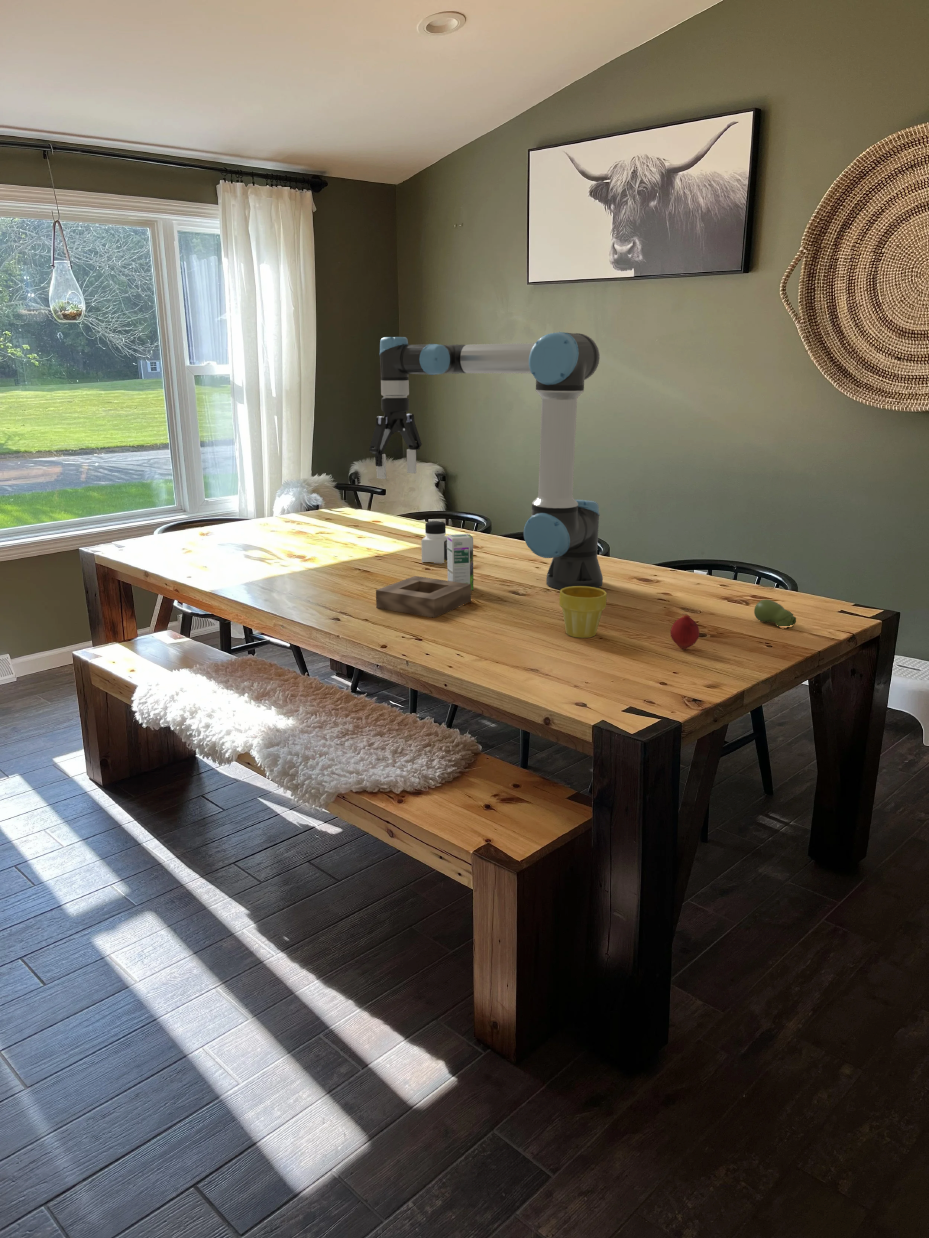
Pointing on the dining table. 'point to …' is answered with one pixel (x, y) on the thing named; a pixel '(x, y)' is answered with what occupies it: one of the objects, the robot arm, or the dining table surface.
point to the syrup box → (460, 558)
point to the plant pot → (582, 609)
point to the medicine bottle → (434, 542)
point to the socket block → (423, 596)
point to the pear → (773, 613)
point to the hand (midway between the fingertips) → (396, 475)
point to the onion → (684, 631)
